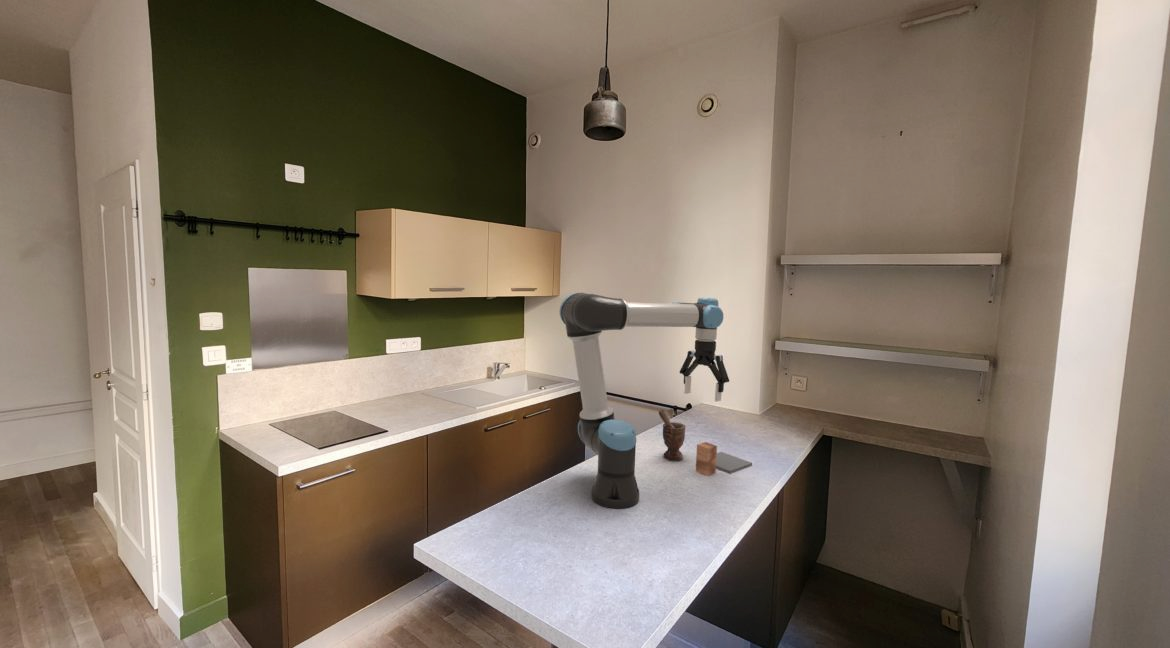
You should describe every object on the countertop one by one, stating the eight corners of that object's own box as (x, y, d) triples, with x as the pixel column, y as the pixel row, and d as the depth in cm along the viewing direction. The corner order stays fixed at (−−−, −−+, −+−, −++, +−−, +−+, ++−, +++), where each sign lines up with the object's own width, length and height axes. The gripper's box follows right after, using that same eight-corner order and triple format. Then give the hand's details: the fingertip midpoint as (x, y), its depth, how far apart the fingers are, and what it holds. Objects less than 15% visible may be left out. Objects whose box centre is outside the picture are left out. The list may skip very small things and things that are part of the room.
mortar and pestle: (673, 465, 176) (676, 413, 174) (653, 459, 181) (655, 409, 179) (687, 457, 185) (690, 407, 183) (668, 452, 190) (670, 403, 188)
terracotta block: (706, 475, 167) (708, 448, 167) (695, 471, 171) (697, 444, 170) (715, 472, 170) (717, 445, 170) (704, 468, 174) (705, 441, 174)
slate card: (729, 473, 170) (729, 471, 170) (698, 461, 181) (698, 458, 181) (752, 465, 178) (752, 462, 178) (721, 454, 189) (721, 451, 189)
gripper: (741, 343, 165) (737, 402, 166) (684, 335, 184) (681, 389, 186) (729, 344, 160) (725, 405, 162) (672, 336, 179) (669, 391, 181)
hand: (702, 397), depth 174 cm, fingers open, 13 cm apart
